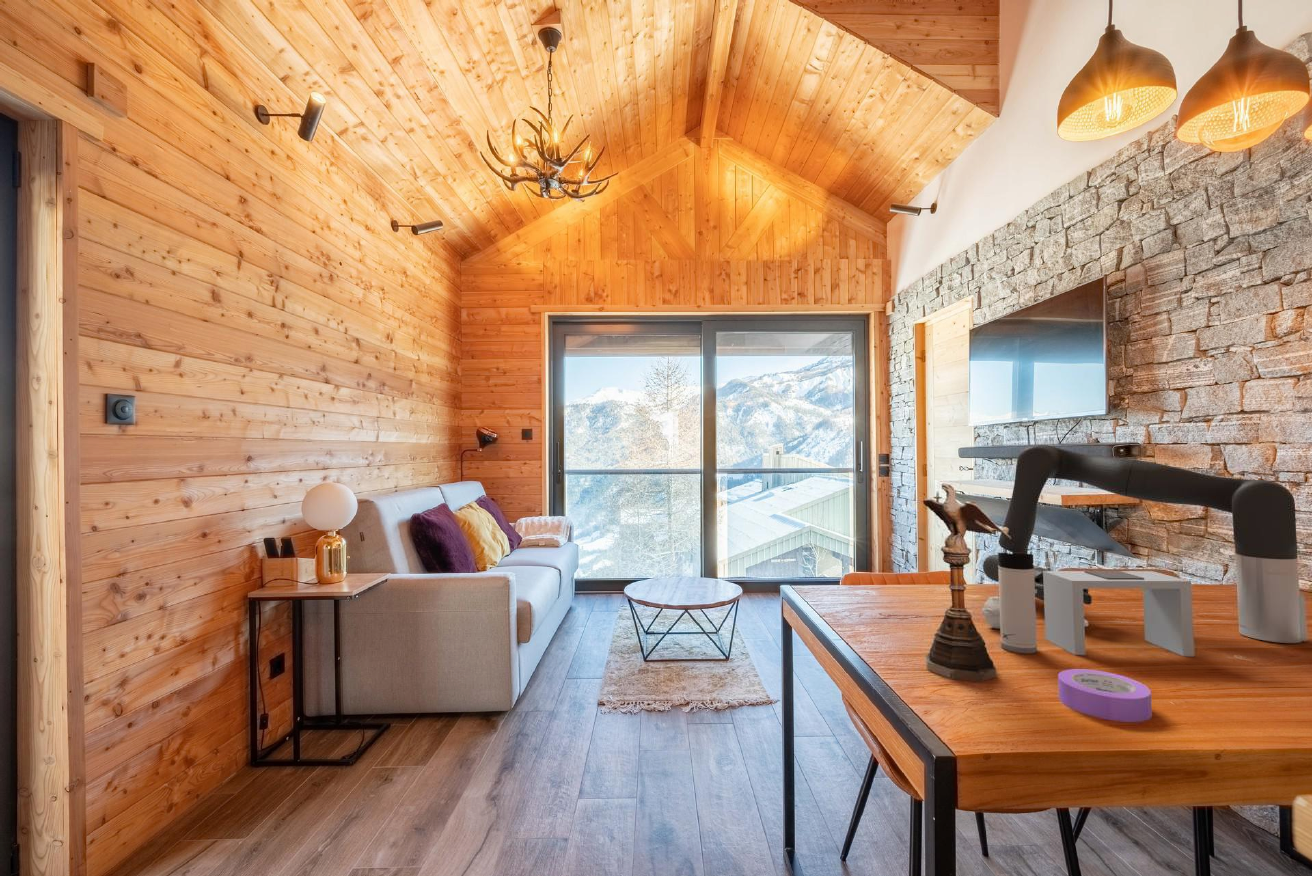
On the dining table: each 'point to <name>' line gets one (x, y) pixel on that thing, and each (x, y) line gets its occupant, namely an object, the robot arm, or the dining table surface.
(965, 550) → the bird statue
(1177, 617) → the bridge
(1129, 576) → the pad
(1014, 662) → the dining table surface
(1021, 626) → the travel mug
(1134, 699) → the masking tape
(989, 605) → the frog figurine
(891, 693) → the dining table surface
